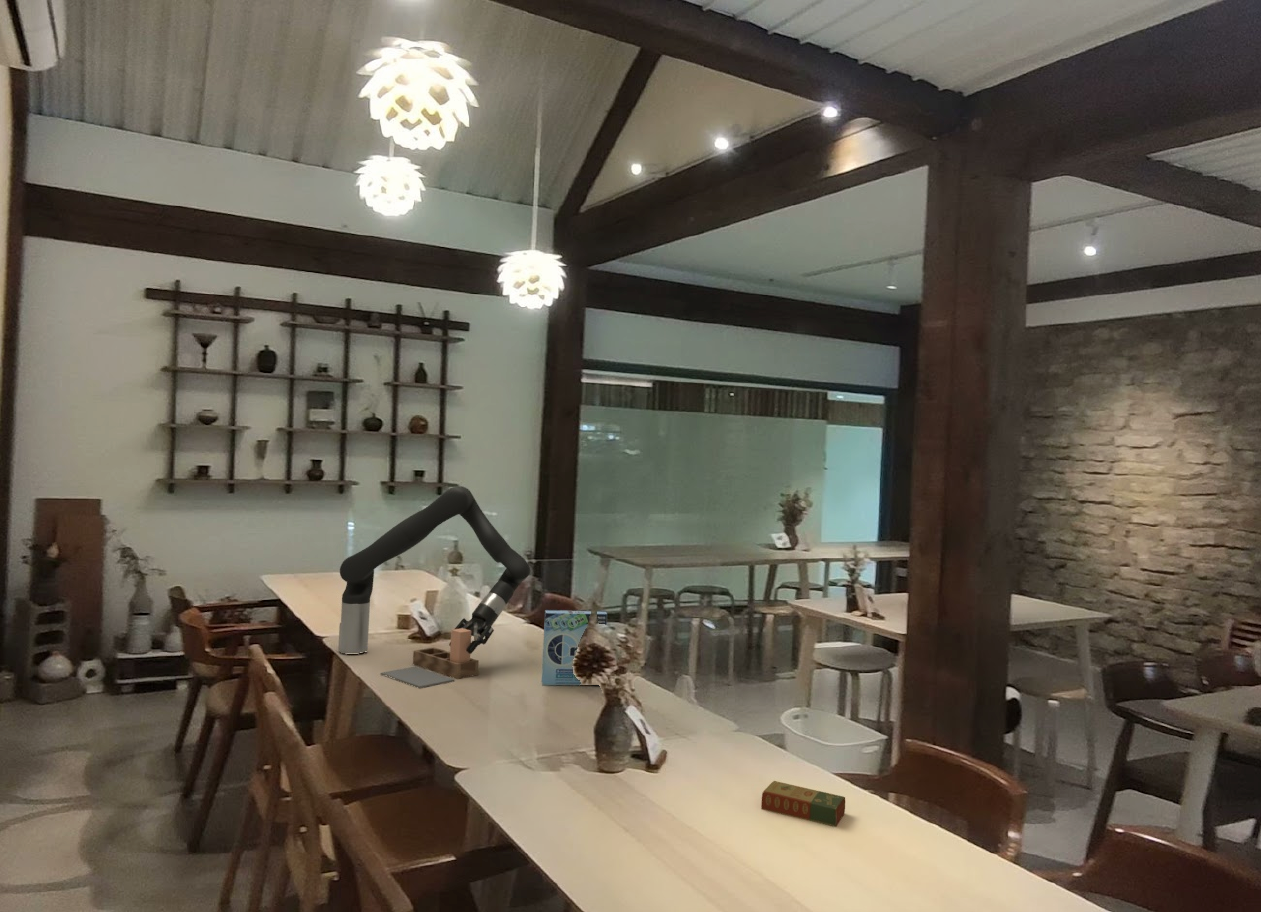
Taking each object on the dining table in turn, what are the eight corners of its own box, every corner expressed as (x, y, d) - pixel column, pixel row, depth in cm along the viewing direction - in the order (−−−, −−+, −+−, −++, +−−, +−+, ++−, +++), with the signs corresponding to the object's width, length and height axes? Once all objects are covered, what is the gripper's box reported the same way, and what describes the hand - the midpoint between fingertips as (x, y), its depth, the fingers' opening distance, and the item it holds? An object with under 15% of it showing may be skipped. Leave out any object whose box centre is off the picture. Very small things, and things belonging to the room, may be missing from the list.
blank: (448, 673, 287) (451, 629, 287) (460, 671, 291) (462, 628, 291) (458, 676, 285) (460, 632, 284) (469, 674, 288) (471, 630, 288)
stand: (412, 664, 297) (413, 650, 297) (433, 660, 303) (434, 647, 303) (457, 678, 282) (457, 664, 282) (477, 674, 288) (478, 660, 288)
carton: (772, 798, 199) (773, 779, 199) (845, 815, 192) (846, 795, 192) (760, 810, 192) (761, 790, 192) (835, 828, 185) (837, 808, 185)
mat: (380, 674, 282) (380, 672, 282) (415, 668, 292) (415, 666, 292) (419, 688, 269) (419, 686, 269) (454, 681, 279) (454, 679, 279)
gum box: (602, 682, 287) (606, 610, 287) (604, 687, 282) (608, 613, 281) (541, 681, 284) (544, 609, 284) (541, 686, 279) (545, 612, 279)
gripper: (469, 599, 299) (439, 638, 290) (497, 606, 289) (467, 646, 281) (480, 613, 303) (451, 652, 294) (509, 620, 294) (480, 661, 285)
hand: (459, 649), depth 287 cm, fingers open, 8 cm apart
